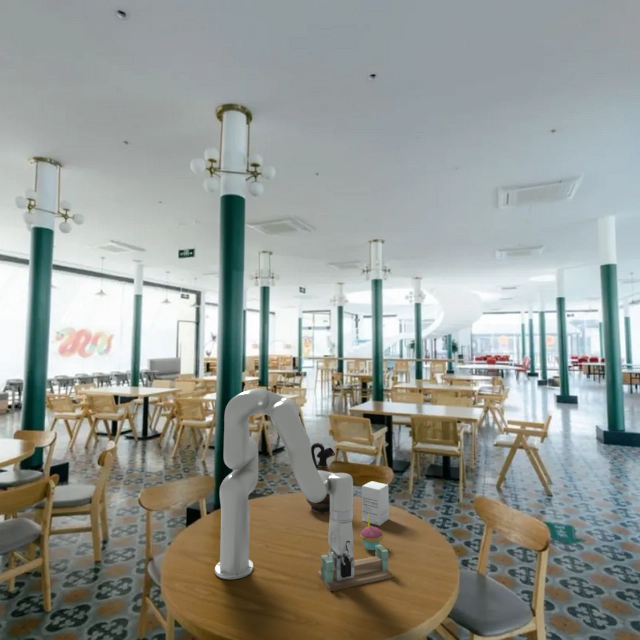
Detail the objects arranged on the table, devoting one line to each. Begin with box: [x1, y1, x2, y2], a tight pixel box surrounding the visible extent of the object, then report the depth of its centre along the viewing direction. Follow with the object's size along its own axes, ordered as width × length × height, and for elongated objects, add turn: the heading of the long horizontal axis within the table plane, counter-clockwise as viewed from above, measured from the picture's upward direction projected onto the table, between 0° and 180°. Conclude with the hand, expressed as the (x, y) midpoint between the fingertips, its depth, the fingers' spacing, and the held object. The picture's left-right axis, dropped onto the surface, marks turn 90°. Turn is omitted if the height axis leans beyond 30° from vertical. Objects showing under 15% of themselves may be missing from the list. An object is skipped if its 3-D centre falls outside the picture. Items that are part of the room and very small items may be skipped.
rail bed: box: [317, 543, 393, 592], centre depth 135 cm, size 10×22×7 cm, turn 112°
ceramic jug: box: [305, 442, 336, 515], centre depth 193 cm, size 17×15×30 cm
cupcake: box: [359, 513, 384, 551], centre depth 155 cm, size 9×8×12 cm
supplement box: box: [361, 480, 390, 527], centre depth 181 cm, size 9×9×15 cm
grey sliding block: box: [328, 548, 355, 582], centre depth 133 cm, size 7×6×7 cm
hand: (341, 570), depth 133 cm, fingers closed on grey sliding block, 6 cm apart
